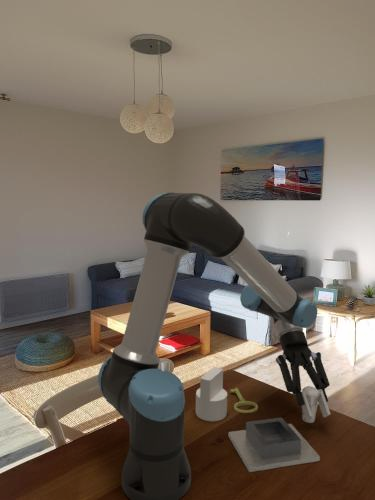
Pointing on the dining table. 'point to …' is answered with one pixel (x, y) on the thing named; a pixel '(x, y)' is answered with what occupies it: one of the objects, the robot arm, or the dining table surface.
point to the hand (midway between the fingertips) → (318, 416)
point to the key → (243, 403)
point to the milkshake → (311, 402)
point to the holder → (271, 445)
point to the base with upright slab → (211, 396)
